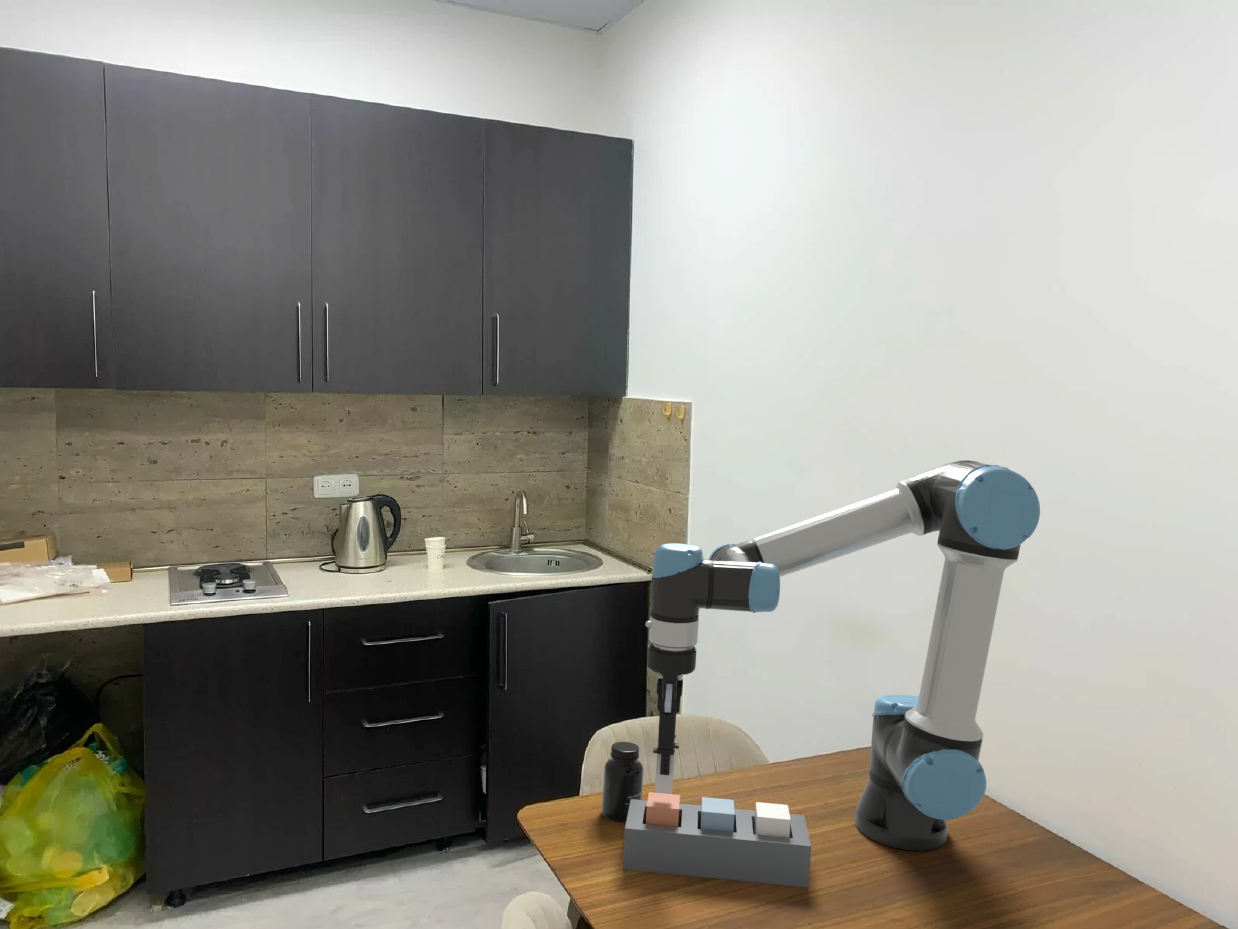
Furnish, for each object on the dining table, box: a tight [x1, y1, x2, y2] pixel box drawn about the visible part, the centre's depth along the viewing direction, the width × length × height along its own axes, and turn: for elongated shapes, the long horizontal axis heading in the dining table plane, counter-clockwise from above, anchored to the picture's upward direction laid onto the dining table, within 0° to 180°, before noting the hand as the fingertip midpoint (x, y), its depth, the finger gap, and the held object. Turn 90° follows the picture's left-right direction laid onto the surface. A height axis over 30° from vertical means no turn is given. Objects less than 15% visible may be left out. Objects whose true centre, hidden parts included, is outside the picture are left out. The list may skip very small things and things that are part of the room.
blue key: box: [700, 796, 735, 832], centre depth 141 cm, size 5×5×5 cm
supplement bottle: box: [601, 741, 644, 823], centre depth 155 cm, size 7×7×12 cm
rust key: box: [646, 791, 681, 827], centre depth 142 cm, size 5×5×5 cm
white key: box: [754, 801, 791, 838], centre depth 140 cm, size 5×5×5 cm
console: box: [622, 799, 812, 889], centre depth 141 cm, size 28×10×6 cm, turn 84°
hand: (663, 791), depth 141 cm, fingers closed
